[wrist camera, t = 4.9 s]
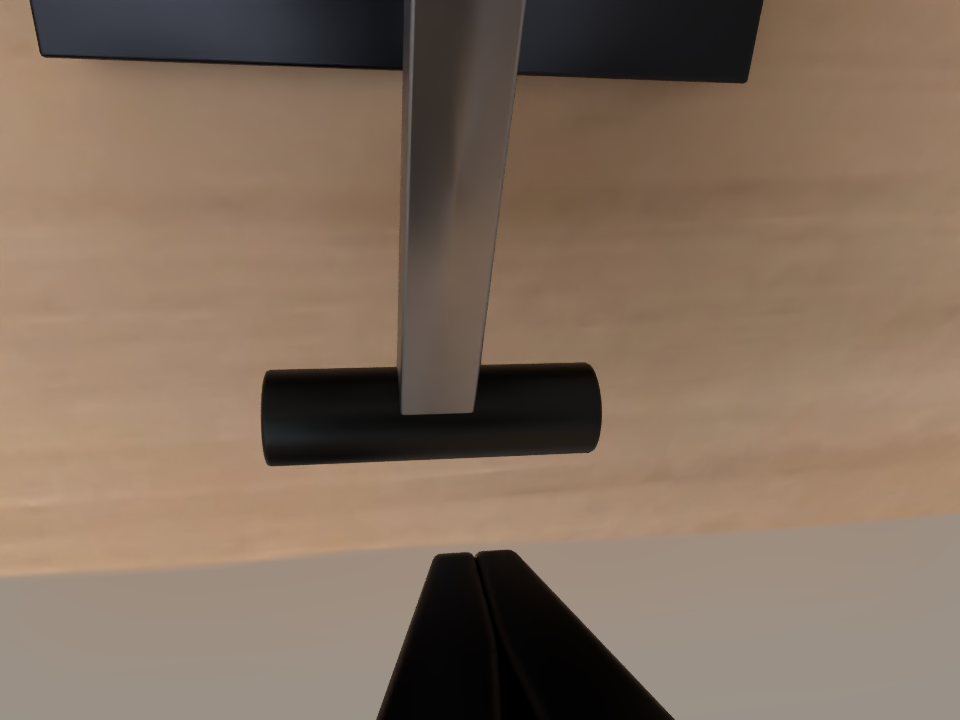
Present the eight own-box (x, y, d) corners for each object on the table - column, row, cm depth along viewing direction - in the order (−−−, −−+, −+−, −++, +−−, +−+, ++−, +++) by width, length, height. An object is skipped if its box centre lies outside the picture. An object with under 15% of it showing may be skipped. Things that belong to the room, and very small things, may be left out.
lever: (565, 385, 13) (597, 495, 12) (276, 393, 13) (265, 513, 11) (868, -873, 5) (1136, -1135, 3) (76, -1076, 4) (-108, -1555, 3)
